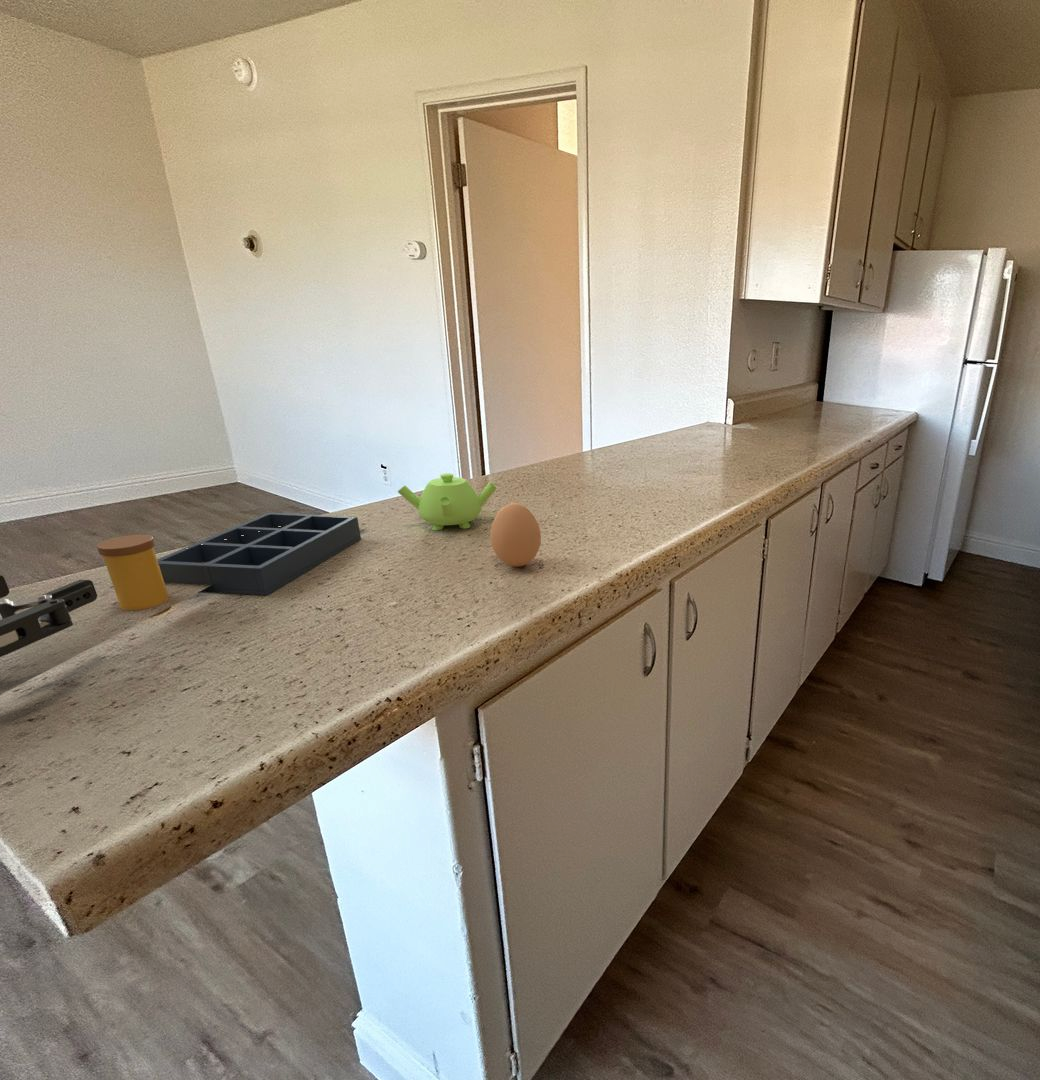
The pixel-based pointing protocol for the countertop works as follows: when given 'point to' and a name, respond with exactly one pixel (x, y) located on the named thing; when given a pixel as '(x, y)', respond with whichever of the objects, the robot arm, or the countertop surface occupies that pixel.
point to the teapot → (448, 501)
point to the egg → (515, 535)
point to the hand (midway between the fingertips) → (47, 586)
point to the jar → (134, 571)
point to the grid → (261, 552)
